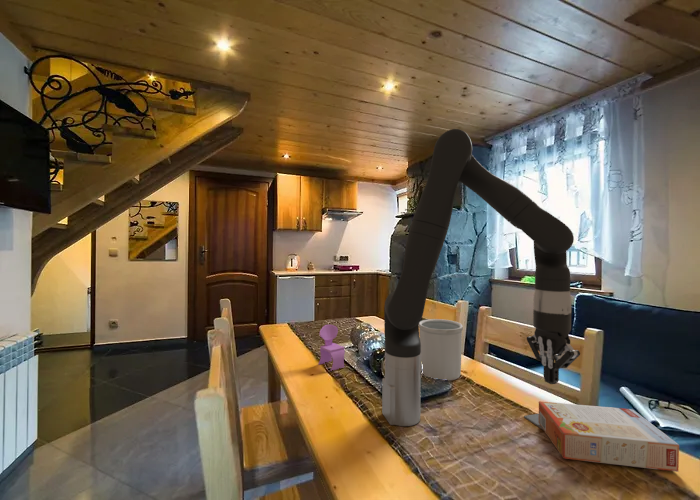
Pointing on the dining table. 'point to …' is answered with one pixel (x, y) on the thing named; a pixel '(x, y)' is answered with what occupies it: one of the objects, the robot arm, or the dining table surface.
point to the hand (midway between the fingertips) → (551, 382)
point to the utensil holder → (441, 348)
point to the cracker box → (607, 436)
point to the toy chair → (331, 348)
